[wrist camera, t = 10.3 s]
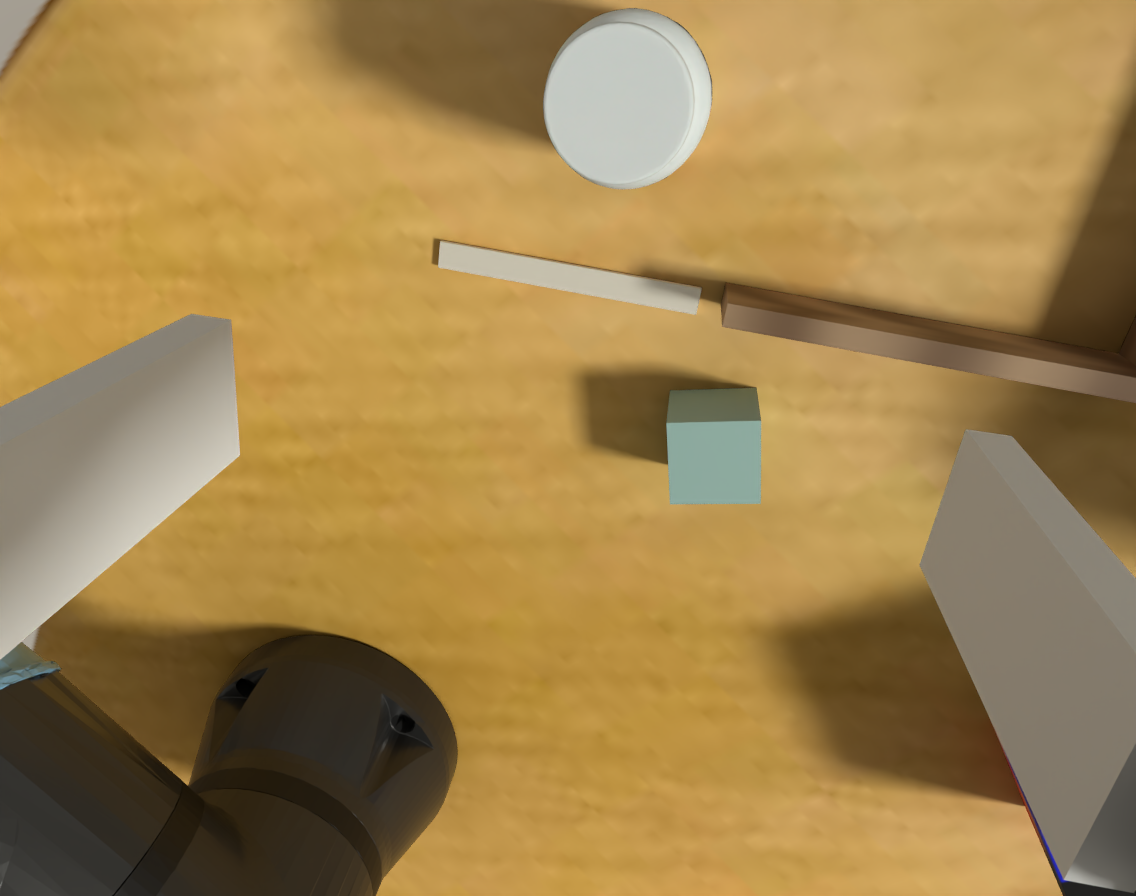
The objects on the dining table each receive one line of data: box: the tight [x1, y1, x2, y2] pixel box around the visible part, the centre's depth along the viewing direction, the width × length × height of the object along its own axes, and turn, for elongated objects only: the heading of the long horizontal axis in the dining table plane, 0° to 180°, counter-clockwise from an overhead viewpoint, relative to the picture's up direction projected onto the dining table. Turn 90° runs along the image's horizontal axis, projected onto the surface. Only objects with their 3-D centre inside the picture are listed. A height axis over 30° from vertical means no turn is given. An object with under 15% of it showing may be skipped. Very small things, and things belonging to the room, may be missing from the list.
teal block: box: [666, 388, 761, 504], centre depth 38 cm, size 4×4×4 cm
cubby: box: [721, 283, 1136, 403], centre depth 32 cm, size 18×16×4 cm
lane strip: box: [438, 240, 702, 315], centre depth 38 cm, size 12×1×1 cm, turn 82°
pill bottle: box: [543, 8, 712, 189], centre depth 30 cm, size 6×6×10 cm
